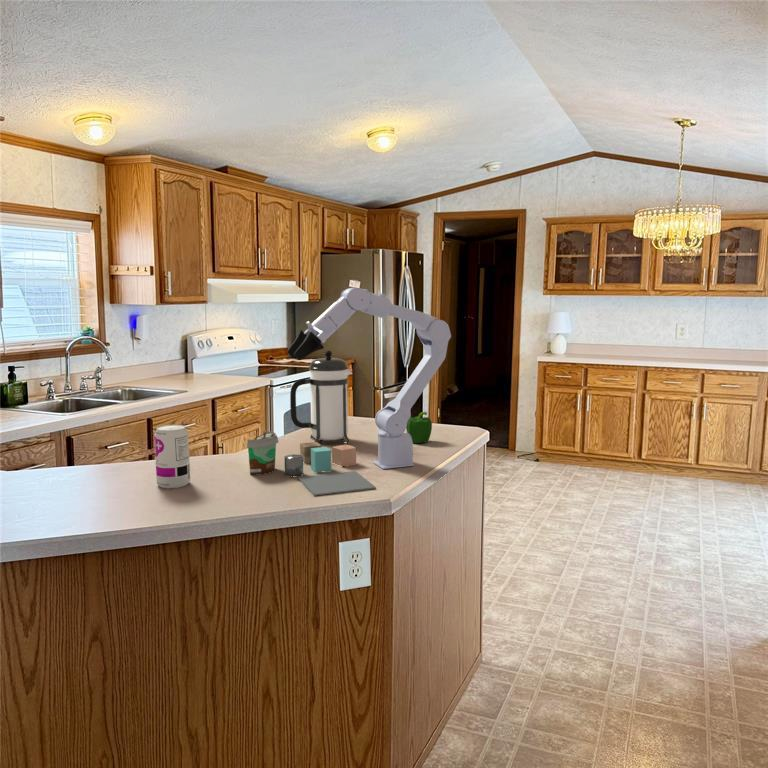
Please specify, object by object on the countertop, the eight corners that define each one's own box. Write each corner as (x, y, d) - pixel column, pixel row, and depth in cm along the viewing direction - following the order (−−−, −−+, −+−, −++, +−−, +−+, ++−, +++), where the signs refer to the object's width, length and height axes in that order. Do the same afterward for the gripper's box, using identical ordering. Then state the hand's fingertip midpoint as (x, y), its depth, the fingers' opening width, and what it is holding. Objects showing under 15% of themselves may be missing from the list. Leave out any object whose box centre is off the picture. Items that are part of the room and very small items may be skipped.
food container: (269, 477, 178) (268, 441, 177) (248, 476, 179) (246, 440, 178) (285, 465, 190) (284, 431, 189) (265, 464, 191) (264, 430, 190)
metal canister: (300, 471, 184) (300, 453, 183) (305, 476, 180) (305, 458, 179) (282, 473, 182) (282, 455, 182) (287, 478, 178) (286, 459, 177)
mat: (355, 472, 182) (355, 470, 182) (375, 489, 168) (375, 487, 168) (298, 478, 177) (298, 477, 177) (314, 496, 162) (313, 494, 162)
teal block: (326, 467, 188) (326, 446, 187) (331, 471, 184) (330, 450, 183) (311, 469, 186) (310, 448, 186) (315, 473, 182) (315, 451, 181)
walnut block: (316, 458, 199) (316, 441, 198) (321, 462, 194) (321, 445, 193) (300, 459, 197) (300, 443, 196) (304, 464, 192) (304, 447, 191)
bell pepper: (402, 443, 216) (402, 413, 215) (411, 438, 224) (411, 409, 222) (426, 445, 213) (427, 415, 212) (435, 440, 221) (435, 410, 219)
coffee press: (324, 433, 231) (323, 347, 227) (361, 439, 222) (360, 349, 218) (289, 443, 217) (287, 351, 213) (327, 450, 208) (325, 354, 204)
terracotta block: (346, 461, 195) (346, 444, 194) (356, 464, 191) (356, 447, 190) (332, 463, 192) (332, 446, 192) (341, 467, 188) (341, 450, 188)
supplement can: (160, 491, 167) (156, 432, 165) (154, 482, 174) (151, 426, 172) (193, 486, 170) (190, 428, 168) (186, 478, 178) (184, 423, 176)
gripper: (313, 309, 184) (276, 342, 181) (327, 310, 170) (289, 347, 168) (329, 328, 186) (294, 361, 184) (345, 331, 173) (307, 367, 170)
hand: (292, 356), depth 176 cm, fingers open, 7 cm apart
